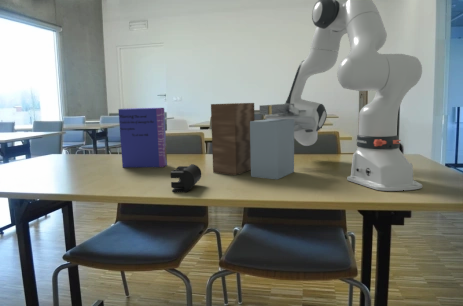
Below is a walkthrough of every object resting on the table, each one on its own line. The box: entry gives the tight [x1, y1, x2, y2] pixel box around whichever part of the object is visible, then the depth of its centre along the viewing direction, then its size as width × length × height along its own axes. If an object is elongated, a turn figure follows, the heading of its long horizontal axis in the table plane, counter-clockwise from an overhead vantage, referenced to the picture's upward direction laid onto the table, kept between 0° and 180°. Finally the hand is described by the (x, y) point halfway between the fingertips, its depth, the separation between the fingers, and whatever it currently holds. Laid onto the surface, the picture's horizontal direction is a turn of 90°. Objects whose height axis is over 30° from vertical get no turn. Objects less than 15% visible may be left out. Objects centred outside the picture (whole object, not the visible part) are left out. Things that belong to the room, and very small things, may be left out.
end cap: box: [170, 164, 202, 193], centre depth 109 cm, size 10×7×7 cm
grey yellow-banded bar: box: [259, 103, 294, 116], centre depth 127 cm, size 22×4×3 cm, turn 147°
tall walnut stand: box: [210, 102, 256, 176], centre depth 134 cm, size 14×10×25 cm
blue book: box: [118, 107, 168, 169], centre depth 147 cm, size 17×5×24 cm, turn 84°
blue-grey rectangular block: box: [250, 118, 295, 180], centre depth 125 cm, size 14×10×19 cm
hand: (284, 106), depth 132 cm, fingers closed on grey yellow-banded bar, 3 cm apart
